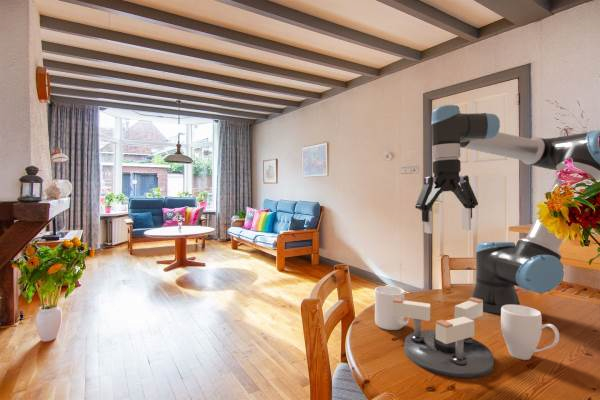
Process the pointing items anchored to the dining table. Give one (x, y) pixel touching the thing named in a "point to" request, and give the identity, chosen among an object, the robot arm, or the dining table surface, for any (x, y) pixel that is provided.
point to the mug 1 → (388, 308)
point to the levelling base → (449, 356)
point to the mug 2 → (523, 330)
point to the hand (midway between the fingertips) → (447, 231)
